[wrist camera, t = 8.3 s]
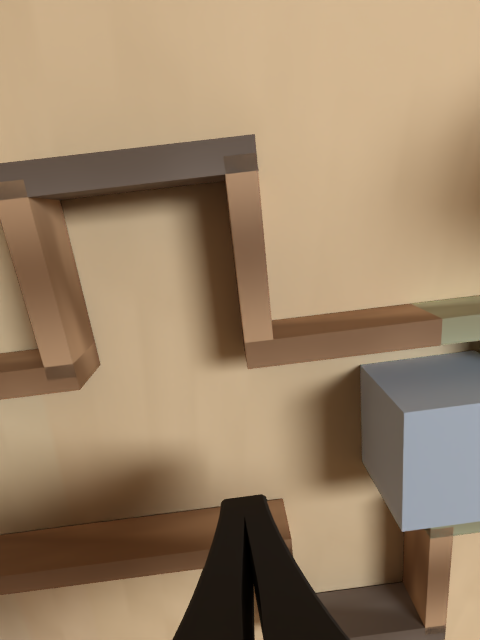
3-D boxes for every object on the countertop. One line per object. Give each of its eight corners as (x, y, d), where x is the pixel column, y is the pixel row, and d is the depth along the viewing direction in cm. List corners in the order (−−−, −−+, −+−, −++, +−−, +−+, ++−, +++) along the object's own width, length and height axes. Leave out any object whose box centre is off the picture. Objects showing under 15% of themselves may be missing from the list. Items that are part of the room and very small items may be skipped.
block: (464, 446, 17) (535, 513, 13) (361, 459, 17) (402, 531, 13) (472, 349, 15) (554, 393, 12) (359, 363, 15) (404, 412, 12)
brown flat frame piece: (483, 584, 19) (515, 629, 17) (7, 648, 19) (-20, 701, 17) (538, 114, 13) (601, 94, 11) (-190, 198, 12) (-275, 194, 10)
